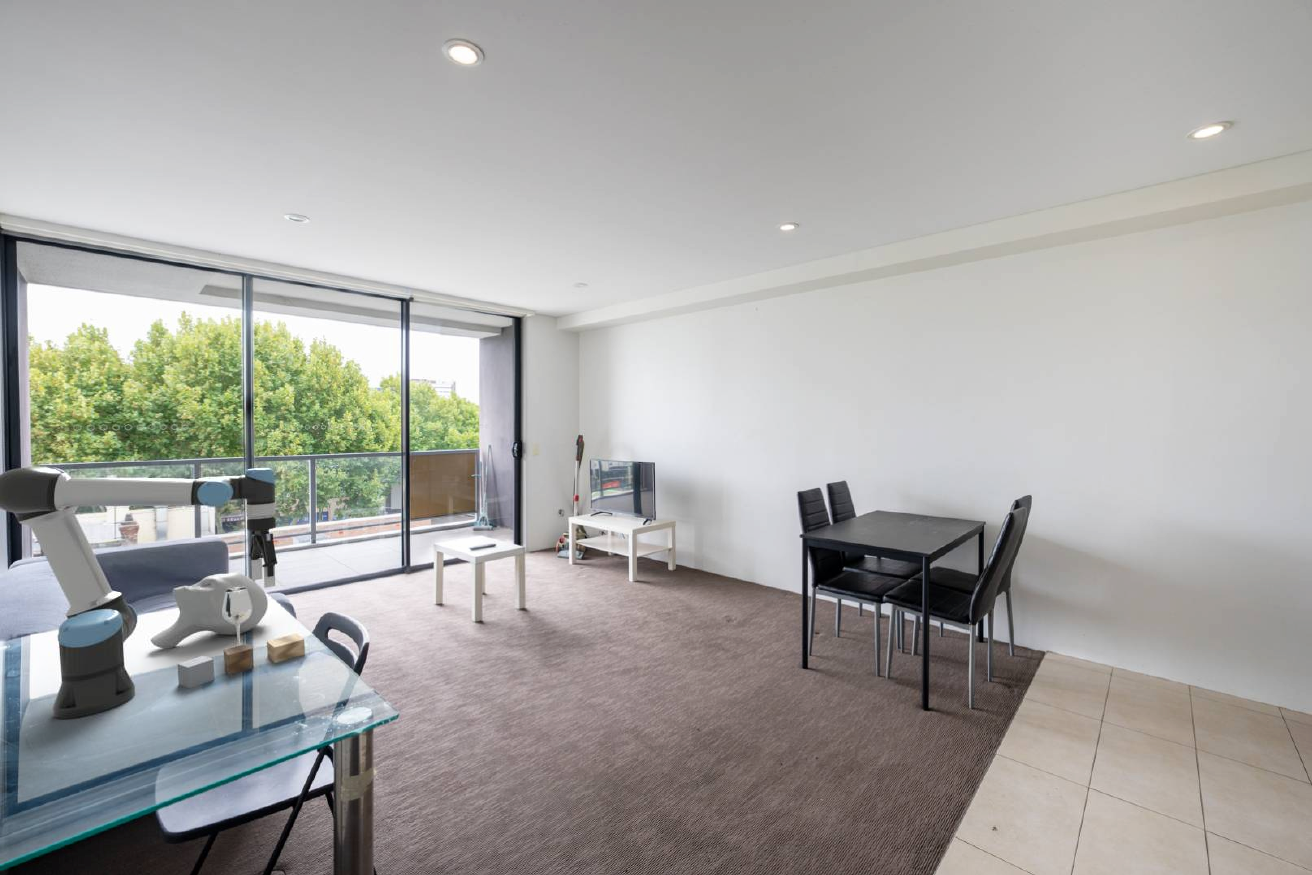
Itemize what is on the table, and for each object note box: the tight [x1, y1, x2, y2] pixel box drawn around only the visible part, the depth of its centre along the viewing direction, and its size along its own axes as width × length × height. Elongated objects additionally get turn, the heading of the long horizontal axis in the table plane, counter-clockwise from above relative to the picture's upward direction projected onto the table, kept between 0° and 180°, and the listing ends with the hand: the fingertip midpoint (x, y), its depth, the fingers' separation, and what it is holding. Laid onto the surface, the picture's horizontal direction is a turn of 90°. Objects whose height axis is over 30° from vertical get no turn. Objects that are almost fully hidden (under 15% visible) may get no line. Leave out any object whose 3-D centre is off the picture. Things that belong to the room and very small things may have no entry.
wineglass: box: [222, 587, 254, 649], centre depth 178 cm, size 8×8×20 cm
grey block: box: [177, 655, 215, 689], centre depth 157 cm, size 6×6×6 cm
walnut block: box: [223, 643, 255, 676], centre depth 165 cm, size 6×6×6 cm
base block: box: [266, 633, 306, 664], centre depth 173 cm, size 8×8×5 cm
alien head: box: [150, 572, 269, 649], centre depth 191 cm, size 21×25×32 cm
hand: (263, 583), depth 176 cm, fingers open, 13 cm apart
